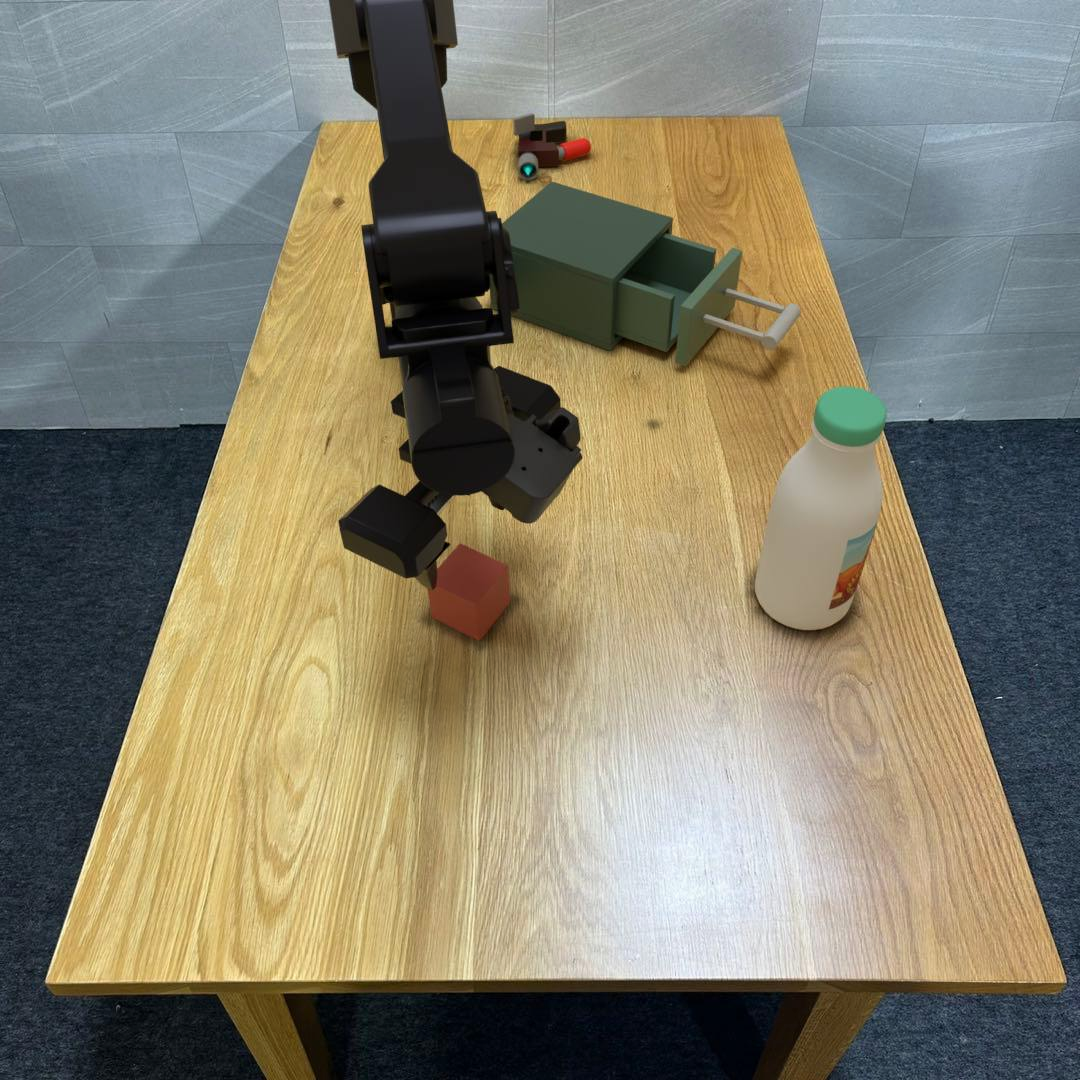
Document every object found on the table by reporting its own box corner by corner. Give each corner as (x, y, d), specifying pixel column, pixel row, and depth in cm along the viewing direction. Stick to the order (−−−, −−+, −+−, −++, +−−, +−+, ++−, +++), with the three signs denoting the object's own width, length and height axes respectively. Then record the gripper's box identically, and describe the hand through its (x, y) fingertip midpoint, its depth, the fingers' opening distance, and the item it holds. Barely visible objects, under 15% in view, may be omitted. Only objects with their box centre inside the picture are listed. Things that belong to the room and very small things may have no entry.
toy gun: (514, 185, 127) (513, 148, 123) (514, 138, 135) (513, 101, 131) (593, 183, 127) (594, 145, 123) (588, 136, 135) (589, 99, 131)
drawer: (805, 330, 105) (817, 272, 100) (759, 393, 99) (769, 335, 94) (621, 270, 113) (623, 214, 108) (567, 324, 106) (567, 267, 101)
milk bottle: (791, 648, 80) (843, 460, 65) (734, 580, 84) (770, 390, 70) (870, 610, 82) (938, 421, 67) (810, 546, 87) (861, 356, 72)
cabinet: (667, 289, 112) (673, 217, 105) (610, 351, 105) (613, 278, 98) (552, 251, 117) (551, 180, 111) (490, 308, 110) (485, 236, 104)
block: (431, 617, 82) (425, 580, 79) (464, 579, 85) (460, 542, 82) (479, 641, 81) (475, 605, 77) (511, 602, 83) (508, 565, 80)
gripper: (468, 523, 57) (484, 681, 69) (629, 344, 68) (620, 508, 80) (314, 452, 62) (354, 613, 73) (488, 294, 72) (499, 456, 84)
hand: (465, 545), depth 77 cm, fingers open, 9 cm apart
